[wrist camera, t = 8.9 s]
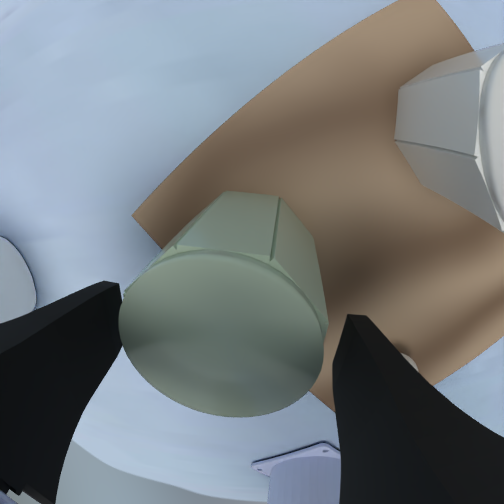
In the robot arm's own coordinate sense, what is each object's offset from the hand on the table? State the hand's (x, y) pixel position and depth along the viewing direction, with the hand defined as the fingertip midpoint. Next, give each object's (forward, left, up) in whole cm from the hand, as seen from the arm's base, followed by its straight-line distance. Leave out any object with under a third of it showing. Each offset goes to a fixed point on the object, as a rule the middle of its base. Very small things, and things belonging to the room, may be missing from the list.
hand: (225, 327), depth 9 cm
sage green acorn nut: (0, 0, -5) cm, 5 cm away
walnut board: (-5, -6, -6) cm, 10 cm away
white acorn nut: (-1, -11, -5) cm, 12 cm away
